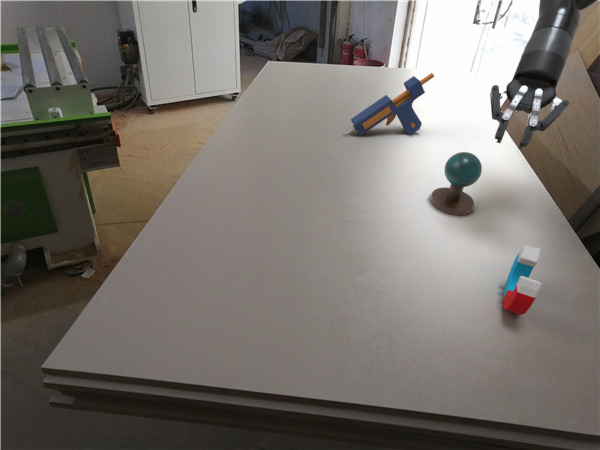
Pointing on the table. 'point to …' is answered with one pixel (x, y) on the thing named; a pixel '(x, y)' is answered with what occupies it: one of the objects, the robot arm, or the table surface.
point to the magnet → (521, 282)
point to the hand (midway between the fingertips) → (509, 143)
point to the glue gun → (393, 109)
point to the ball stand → (457, 184)
